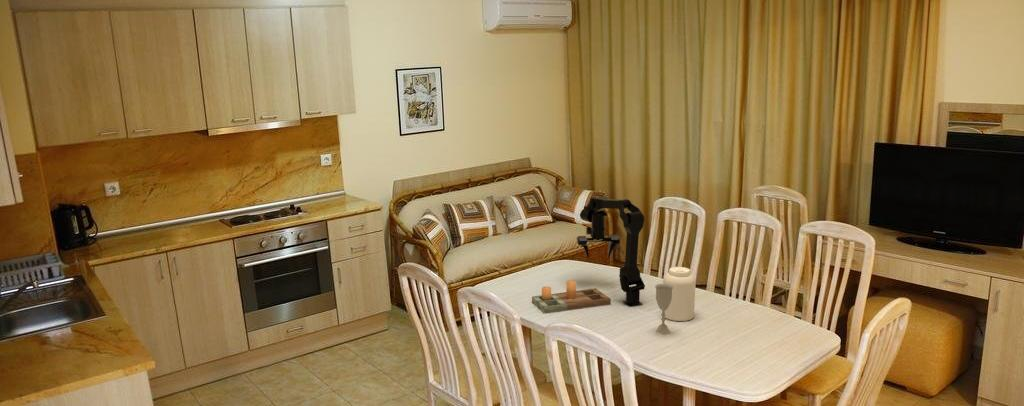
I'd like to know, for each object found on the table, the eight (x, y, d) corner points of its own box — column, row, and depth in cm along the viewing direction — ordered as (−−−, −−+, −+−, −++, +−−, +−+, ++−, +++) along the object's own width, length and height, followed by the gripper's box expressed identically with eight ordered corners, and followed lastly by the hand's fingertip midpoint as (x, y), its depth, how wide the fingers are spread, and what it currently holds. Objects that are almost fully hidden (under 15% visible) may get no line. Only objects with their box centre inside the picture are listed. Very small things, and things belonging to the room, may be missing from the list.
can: (694, 322, 296) (696, 274, 292) (662, 320, 298) (663, 272, 294) (693, 311, 308) (695, 265, 304) (662, 310, 310) (663, 263, 306)
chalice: (659, 326, 292) (660, 282, 288) (675, 330, 288) (676, 285, 284) (650, 332, 287) (651, 287, 283) (666, 336, 282) (667, 290, 279)
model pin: (552, 304, 319) (552, 288, 317) (543, 305, 317) (543, 290, 316) (549, 301, 322) (549, 286, 321) (540, 302, 321) (540, 287, 320)
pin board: (610, 304, 318) (610, 298, 317) (544, 313, 308) (544, 307, 308) (595, 293, 332) (595, 288, 331) (532, 302, 322) (532, 296, 322)
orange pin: (577, 298, 318) (577, 282, 317) (568, 299, 317) (568, 283, 315) (573, 295, 322) (573, 280, 320) (565, 296, 321) (565, 281, 319)
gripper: (615, 219, 342) (615, 253, 345) (574, 221, 341) (575, 254, 344) (620, 225, 331) (620, 259, 334) (578, 226, 330) (578, 260, 333)
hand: (598, 258), depth 337 cm, fingers open, 9 cm apart
